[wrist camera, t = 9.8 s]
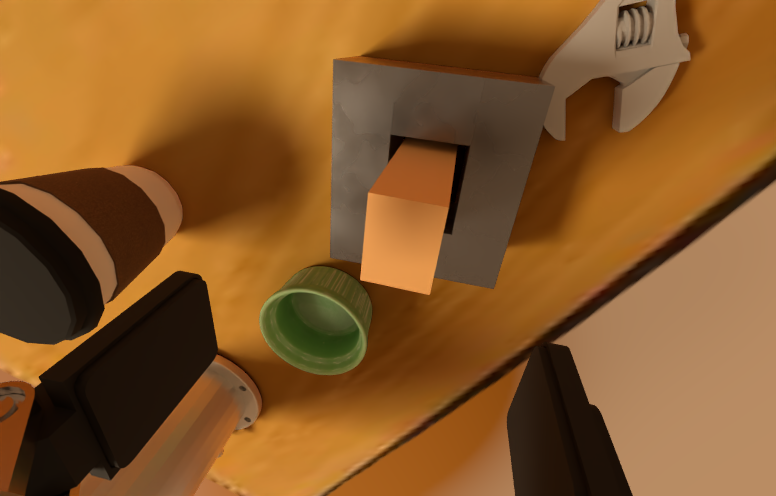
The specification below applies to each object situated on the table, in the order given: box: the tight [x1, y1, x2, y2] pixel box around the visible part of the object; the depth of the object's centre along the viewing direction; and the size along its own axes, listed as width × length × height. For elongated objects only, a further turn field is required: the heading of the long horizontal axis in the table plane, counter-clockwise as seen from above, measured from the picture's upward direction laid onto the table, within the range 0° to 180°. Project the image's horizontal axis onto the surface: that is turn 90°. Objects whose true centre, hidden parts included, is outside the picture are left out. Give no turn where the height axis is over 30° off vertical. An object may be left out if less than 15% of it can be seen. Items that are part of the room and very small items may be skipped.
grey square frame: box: [330, 56, 555, 289], centre depth 22 cm, size 12×11×5 cm
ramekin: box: [259, 266, 372, 375], centre depth 31 cm, size 9×9×4 cm
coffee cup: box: [0, 165, 183, 345], centre depth 26 cm, size 11×11×12 cm
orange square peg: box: [360, 137, 458, 295], centre depth 19 cm, size 3×4×12 cm
